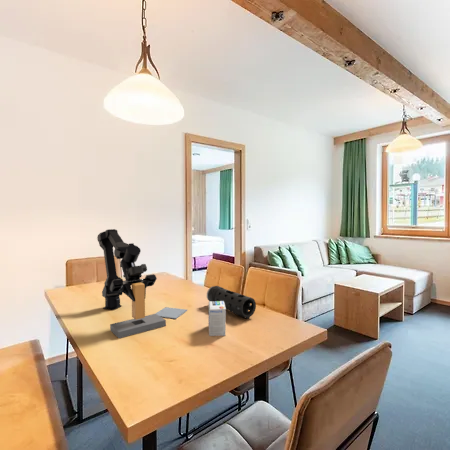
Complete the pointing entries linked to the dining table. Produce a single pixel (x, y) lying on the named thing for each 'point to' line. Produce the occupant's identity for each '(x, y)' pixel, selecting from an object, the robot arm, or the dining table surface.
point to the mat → (171, 312)
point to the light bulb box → (217, 318)
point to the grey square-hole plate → (137, 325)
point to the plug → (138, 301)
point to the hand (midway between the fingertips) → (139, 300)
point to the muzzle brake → (233, 301)
